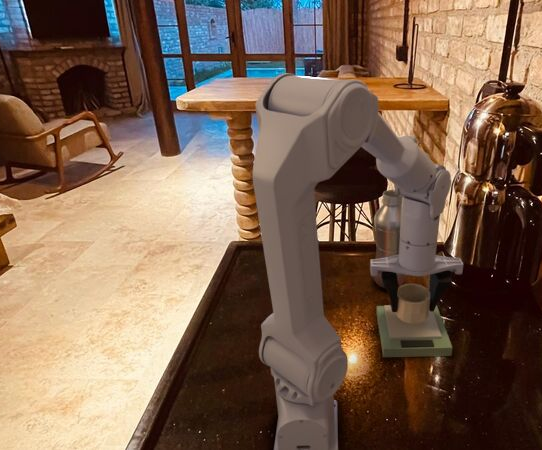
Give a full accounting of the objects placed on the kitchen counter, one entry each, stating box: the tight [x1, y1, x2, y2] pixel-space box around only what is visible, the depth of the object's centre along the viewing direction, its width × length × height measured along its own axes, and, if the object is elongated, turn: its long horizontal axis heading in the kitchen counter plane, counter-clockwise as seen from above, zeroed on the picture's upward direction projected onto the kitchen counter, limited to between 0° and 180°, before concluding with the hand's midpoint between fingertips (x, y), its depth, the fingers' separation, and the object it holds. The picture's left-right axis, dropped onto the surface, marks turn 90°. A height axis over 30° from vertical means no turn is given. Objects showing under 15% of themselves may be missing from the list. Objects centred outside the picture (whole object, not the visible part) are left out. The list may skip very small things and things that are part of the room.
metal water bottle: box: [372, 189, 407, 289], centre depth 79 cm, size 6×7×20 cm
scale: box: [375, 304, 453, 358], centre depth 70 cm, size 11×11×2 cm
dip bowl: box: [395, 283, 431, 324], centre depth 68 cm, size 6×6×4 cm
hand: (412, 308), depth 69 cm, fingers closed on dip bowl, 6 cm apart
